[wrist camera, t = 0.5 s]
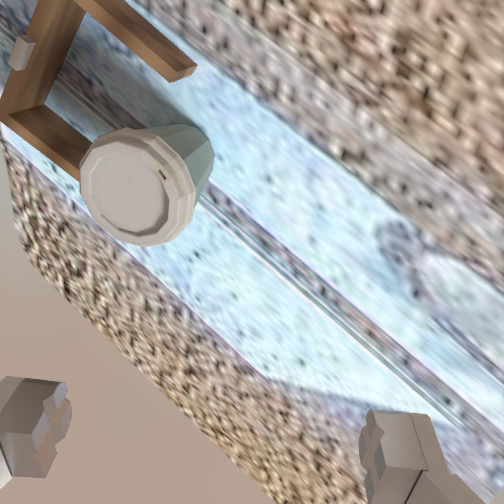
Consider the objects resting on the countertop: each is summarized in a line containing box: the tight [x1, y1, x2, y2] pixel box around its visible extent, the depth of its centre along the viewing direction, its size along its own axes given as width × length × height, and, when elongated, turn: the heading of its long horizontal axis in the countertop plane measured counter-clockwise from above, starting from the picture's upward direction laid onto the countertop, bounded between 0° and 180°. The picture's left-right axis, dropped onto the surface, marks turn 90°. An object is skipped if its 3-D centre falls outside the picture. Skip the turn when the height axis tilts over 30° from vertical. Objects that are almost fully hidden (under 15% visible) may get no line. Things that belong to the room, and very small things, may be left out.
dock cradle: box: [0, 0, 197, 182], centre depth 43 cm, size 13×16×7 cm
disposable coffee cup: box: [79, 124, 215, 247], centre depth 42 cm, size 11×11×15 cm
